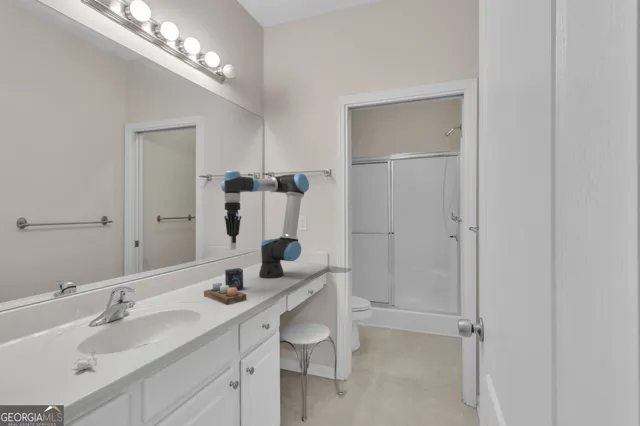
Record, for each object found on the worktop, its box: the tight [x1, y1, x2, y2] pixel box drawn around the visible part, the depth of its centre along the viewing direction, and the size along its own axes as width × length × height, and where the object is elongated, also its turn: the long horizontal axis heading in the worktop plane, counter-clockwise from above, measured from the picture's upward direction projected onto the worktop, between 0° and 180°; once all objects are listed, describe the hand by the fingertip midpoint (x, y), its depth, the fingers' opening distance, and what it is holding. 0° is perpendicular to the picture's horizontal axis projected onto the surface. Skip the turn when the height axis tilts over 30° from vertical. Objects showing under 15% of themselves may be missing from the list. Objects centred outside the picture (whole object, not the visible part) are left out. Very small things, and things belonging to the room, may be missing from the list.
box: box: [224, 267, 244, 291], centre depth 164 cm, size 8×6×11 cm
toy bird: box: [72, 349, 98, 371], centre depth 83 cm, size 8×5×5 cm, turn 78°
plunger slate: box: [212, 282, 223, 292], centre depth 154 cm, size 4×4×4 cm
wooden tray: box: [203, 288, 247, 305], centre depth 149 cm, size 10×22×2 cm, turn 45°
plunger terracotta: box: [227, 287, 238, 297], centre depth 144 cm, size 4×4×4 cm
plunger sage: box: [220, 284, 229, 294], centre depth 149 cm, size 4×4×4 cm
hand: (232, 249), depth 157 cm, fingers closed
